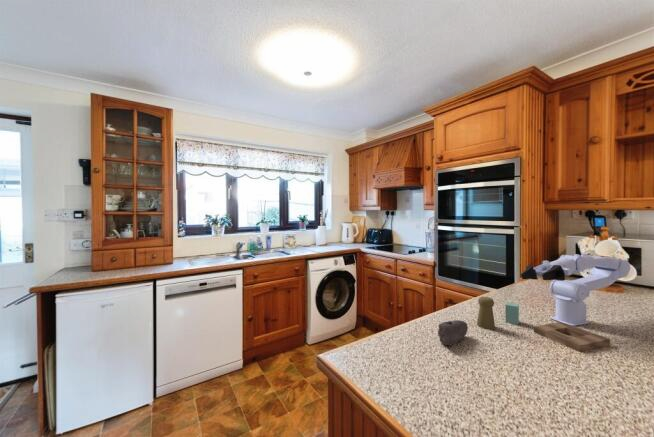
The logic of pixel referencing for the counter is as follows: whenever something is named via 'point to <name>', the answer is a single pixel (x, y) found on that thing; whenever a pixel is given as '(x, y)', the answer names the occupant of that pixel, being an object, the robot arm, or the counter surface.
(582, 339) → the walnut socket block
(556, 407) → the counter surface
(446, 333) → the perforated stone tool
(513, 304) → the teal peg
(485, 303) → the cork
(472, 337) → the counter surface
